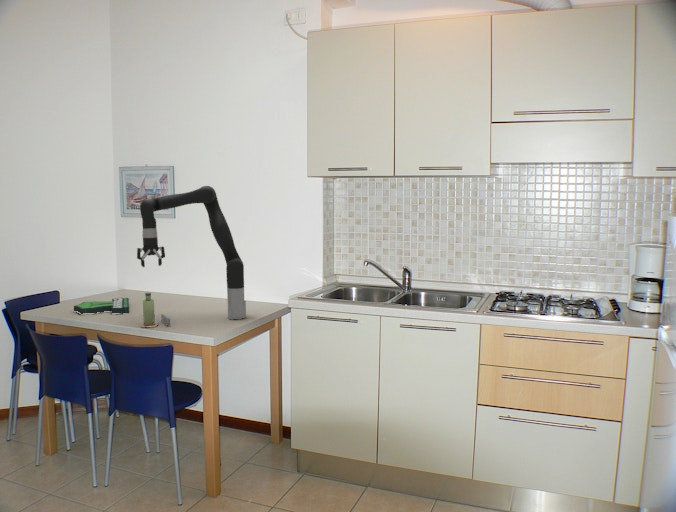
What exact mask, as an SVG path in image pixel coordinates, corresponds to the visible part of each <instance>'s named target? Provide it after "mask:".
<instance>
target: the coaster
mask: <svg viewBox="0 0 676 512" xmlns="http://www.w3.org/2000/svg"><path fill="white" fill-rule="evenodd" d="M157 325H158V326H159V323H157V322H155V325H153V326H144V323H142V324H140V325H139V326H141V327H154V326H157ZM158 326H157V327H158ZM141 327H140V328H141ZM154 328H155V327H154Z"/></svg>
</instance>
